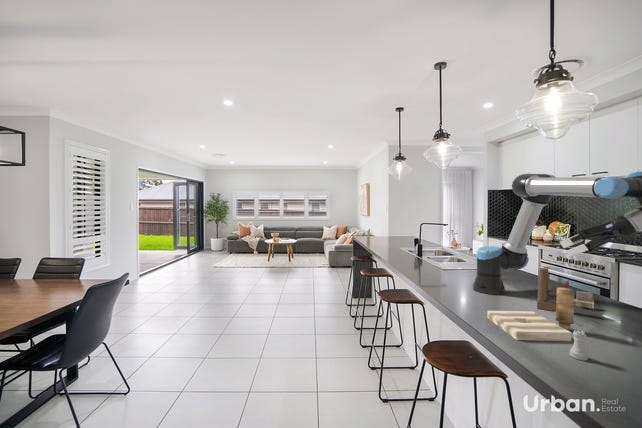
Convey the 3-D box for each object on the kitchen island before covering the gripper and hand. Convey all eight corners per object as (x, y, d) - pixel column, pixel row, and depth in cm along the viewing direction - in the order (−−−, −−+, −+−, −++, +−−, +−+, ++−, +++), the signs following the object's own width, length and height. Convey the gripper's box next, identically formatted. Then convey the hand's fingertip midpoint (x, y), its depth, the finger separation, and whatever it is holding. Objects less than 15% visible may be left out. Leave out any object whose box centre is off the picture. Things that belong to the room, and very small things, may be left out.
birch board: (487, 317, 123) (487, 310, 123) (532, 318, 122) (533, 311, 122) (516, 339, 103) (516, 331, 103) (571, 341, 102) (571, 332, 102)
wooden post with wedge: (568, 313, 127) (569, 271, 127) (537, 308, 133) (538, 268, 133) (567, 311, 130) (568, 270, 130) (536, 306, 136) (537, 267, 136)
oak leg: (552, 326, 114) (553, 287, 114) (566, 326, 114) (567, 287, 113) (562, 332, 109) (563, 291, 108) (577, 332, 109) (578, 291, 108)
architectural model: (594, 311, 131) (595, 294, 131) (574, 308, 135) (574, 292, 135) (592, 309, 134) (593, 292, 134) (572, 306, 138) (573, 290, 138)
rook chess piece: (565, 354, 93) (566, 328, 93) (578, 353, 93) (579, 328, 93) (579, 361, 89) (579, 334, 88) (592, 360, 89) (593, 334, 89)
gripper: (637, 221, 98) (565, 250, 109) (639, 241, 114) (576, 265, 125) (620, 203, 102) (552, 232, 113) (624, 225, 118) (564, 249, 129)
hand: (564, 249), depth 119 cm, fingers open, 13 cm apart
